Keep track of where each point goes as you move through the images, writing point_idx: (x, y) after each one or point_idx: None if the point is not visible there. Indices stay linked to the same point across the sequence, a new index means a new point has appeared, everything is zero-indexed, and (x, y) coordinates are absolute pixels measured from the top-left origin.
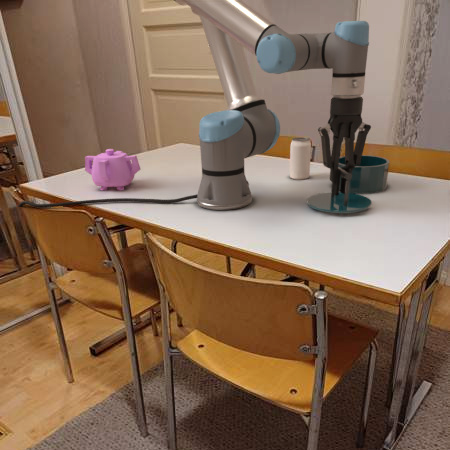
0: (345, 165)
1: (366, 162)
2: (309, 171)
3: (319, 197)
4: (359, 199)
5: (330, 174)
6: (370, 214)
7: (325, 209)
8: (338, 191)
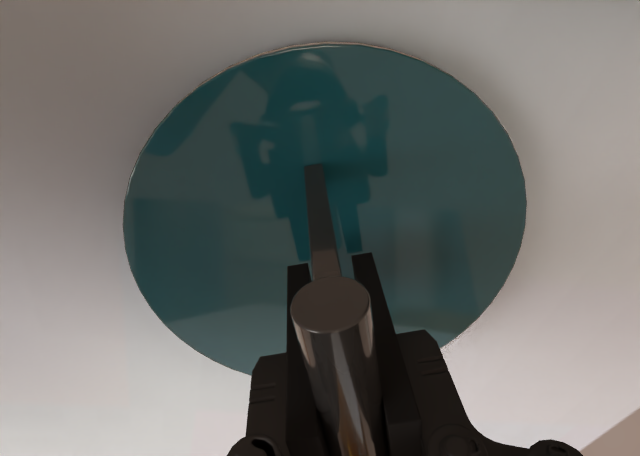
0: (427, 450)
1: None
2: None
3: (215, 178)
4: (459, 250)
5: (250, 417)
6: None
7: (225, 365)
8: None
